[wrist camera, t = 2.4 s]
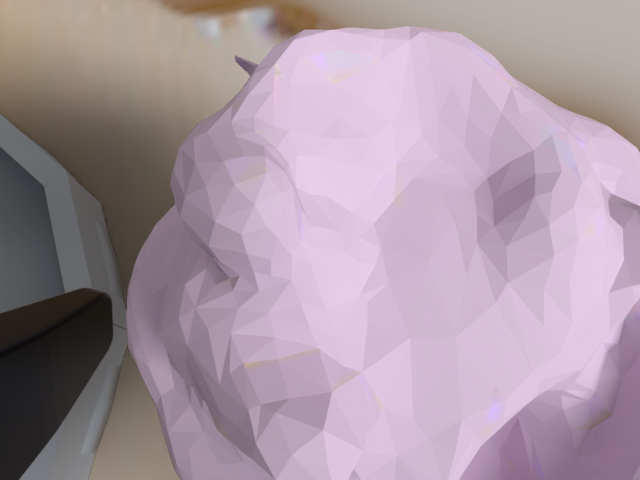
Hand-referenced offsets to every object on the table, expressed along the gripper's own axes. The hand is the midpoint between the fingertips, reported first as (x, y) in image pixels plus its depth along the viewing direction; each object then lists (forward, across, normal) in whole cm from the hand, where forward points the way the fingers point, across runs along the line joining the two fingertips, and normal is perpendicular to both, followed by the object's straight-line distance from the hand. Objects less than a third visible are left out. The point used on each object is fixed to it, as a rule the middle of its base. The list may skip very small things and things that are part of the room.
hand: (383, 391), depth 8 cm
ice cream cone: (+8, 0, +6) cm, 10 cm away
